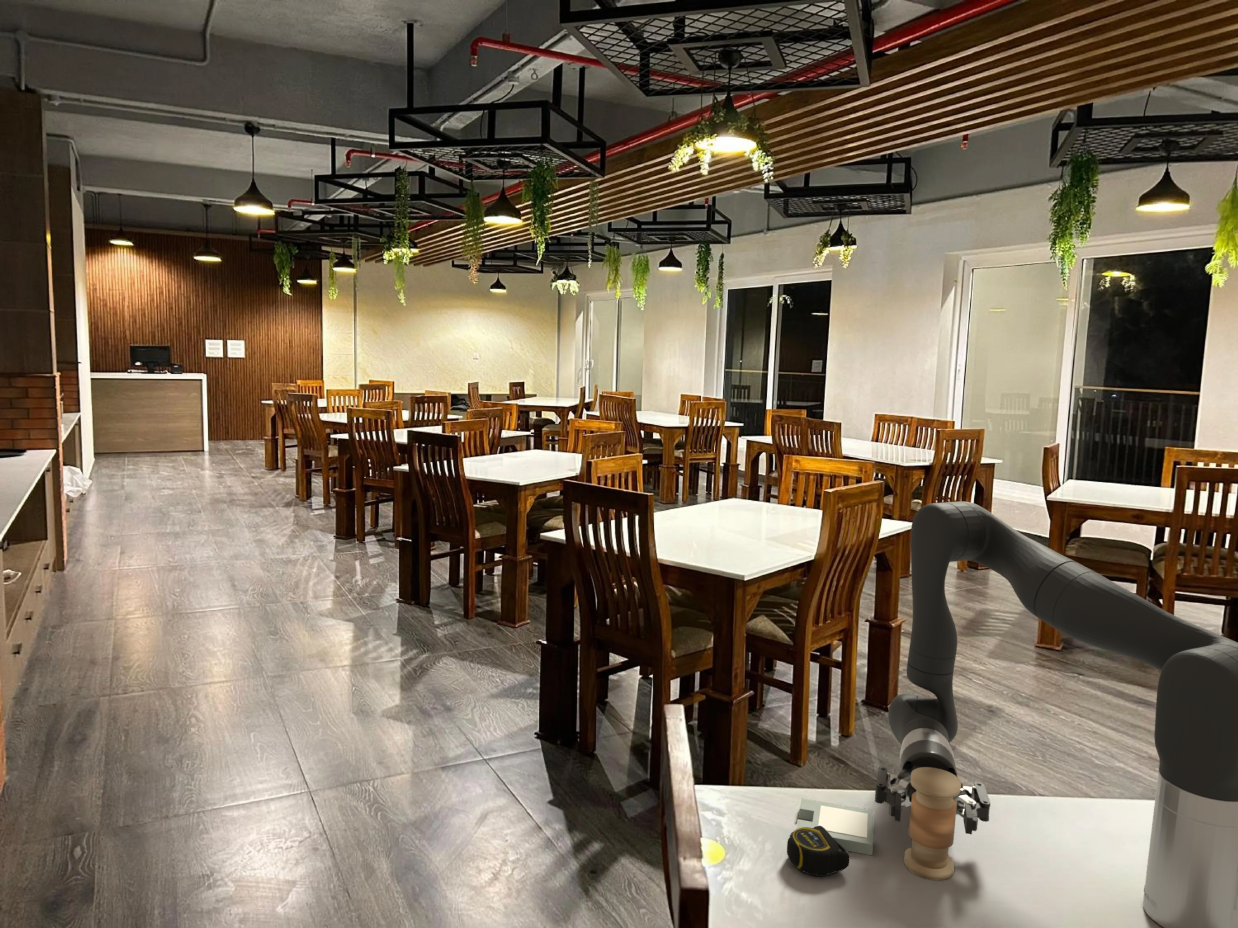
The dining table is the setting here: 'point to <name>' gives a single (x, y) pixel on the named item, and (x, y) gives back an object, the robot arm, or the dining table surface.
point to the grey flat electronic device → (840, 823)
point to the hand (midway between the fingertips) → (933, 820)
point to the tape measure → (816, 851)
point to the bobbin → (932, 823)
